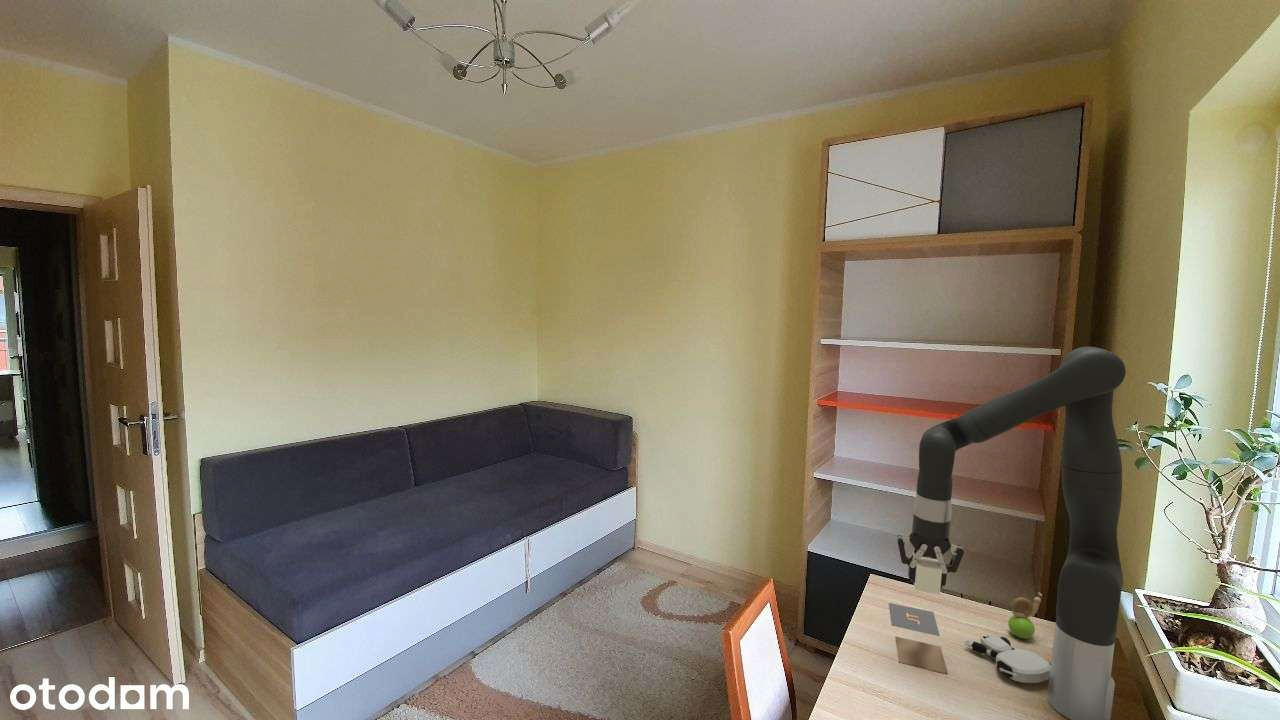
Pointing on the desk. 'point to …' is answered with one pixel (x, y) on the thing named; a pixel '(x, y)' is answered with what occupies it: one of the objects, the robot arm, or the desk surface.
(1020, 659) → the robot toy
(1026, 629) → the snail figurine
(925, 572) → the white block
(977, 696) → the desk surface
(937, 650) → the walnut board
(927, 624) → the mat
